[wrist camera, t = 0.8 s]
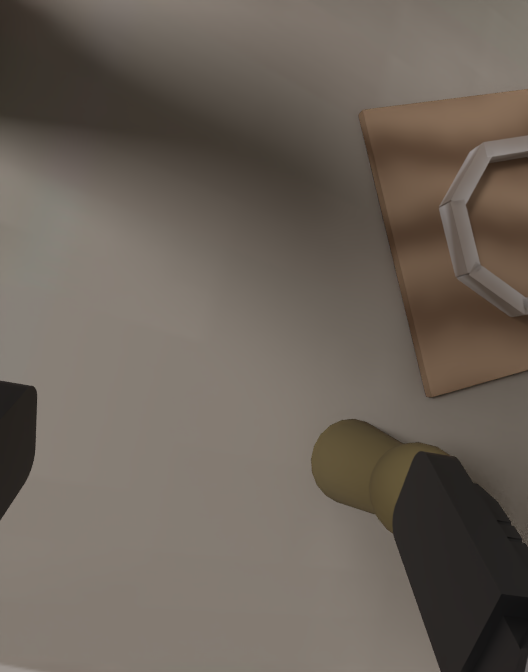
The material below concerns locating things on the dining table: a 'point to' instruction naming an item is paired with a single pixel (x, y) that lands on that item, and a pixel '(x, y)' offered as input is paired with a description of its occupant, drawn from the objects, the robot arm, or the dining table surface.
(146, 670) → the dining table surface
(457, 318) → the collar holder
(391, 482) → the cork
